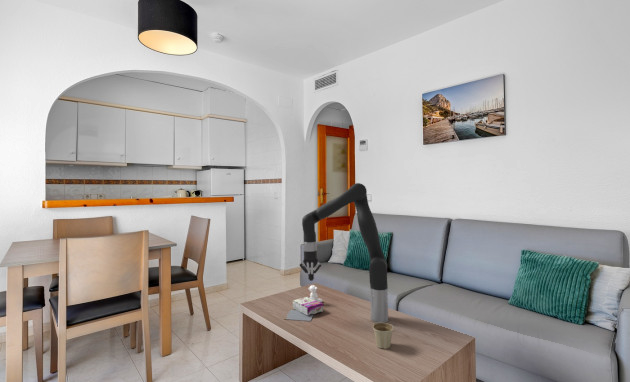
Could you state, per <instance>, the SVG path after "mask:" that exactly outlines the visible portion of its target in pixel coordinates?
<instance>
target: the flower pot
mask: <svg viewBox="0 0 630 382" xmlns="http://www.w3.org/2000/svg"><path fill="white" fill-rule="evenodd" d="M372 329H373V332H374V339H375V344H376V347H377V348H379V349H385V350H387V349H389V348H390V347H391V344H392V343H391V342H392V335H393V332H394V331H393V330H394V326H393V324H390V323H389V322H383V323H378V322H374V324H373V325H372Z"/></svg>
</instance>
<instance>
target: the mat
mask: <svg viewBox="0 0 630 382" xmlns="http://www.w3.org/2000/svg"><path fill="white" fill-rule="evenodd" d="M288 313H289V314H288ZM288 313H287V314H286V316H287V315H288V316H287V318H286V319H290V320H289V321H298V320H300V321H302V322H312V319H313V318H314V316H315V314H312V315H308V316H307V315H305V314H303V313H301V312H300V311H298V310H296V309H290V310H289V311H288ZM286 316H285V317H286ZM312 317H313V318H312ZM300 321H299V322H300Z"/></svg>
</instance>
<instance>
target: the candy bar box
mask: <svg viewBox="0 0 630 382" xmlns="http://www.w3.org/2000/svg"><path fill="white" fill-rule="evenodd" d="M292 309H293V310H298V311H300V312H301V313H303V314H305V315H307V316H308V315H312V314H314V315H316V314H318V313H323V312H324V303H323V302H321V303H320V302H318V301H316V300H314V299H311V298H310V296H305V297H300V298H297V299H293V300H292Z"/></svg>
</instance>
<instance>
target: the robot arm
mask: <svg viewBox="0 0 630 382" xmlns="http://www.w3.org/2000/svg"><path fill="white" fill-rule="evenodd" d="M367 191H368V190H367V187H366V186H365V184H364V183H363V184H362V183H360V182H359V183H358V182H356V183H353V185H351V186H350V187H349V188H348V189H347V190H346V191H345V192H343V193H341V194H340V195H339V196H337V197H335V198H333V199H331V200H329V201H327V202H326V203H323V204H322V205H321V206H318V207H317V208H316V209H314V210H312V211H311V212H309V213H307V214H305V215H304V216H303V217H302V219H301V220H302V222H301V225H302V231H303V232H302V233H303V247H302V248H303V261H302V262H301V263H299V267H300V268H301V269H302V271H303V272H304V273H305V274H307V275H308V280H309V281H310V282H313V281H314V279H315V274H316V273H317V272H318V271H319V269H321V267H322V266H323V264H322V263H320V262H319V260H318V245H317V233H316V230H315V229H316V226H315V225H316V224H317V223H318V222H319V223H320V221H322V220H324V219H326V218H328V217H329V216H331V215H334V213H336V212H338V211H339V210H341V209H342V208H344V207H346V206H347V205H349V204H351V203H353V204H354V206H355V207H354V208H355V210H356V216H357V223H358V227H359V232H360V235H361V238H362V240H363V242H364V244H365V247H366V248H367V251H368V255H369V260H370V264H369V266H368V267H369V268H368V269H369V289H370V290H369V292H370V296H369V297H370V320H371V322H374V323H389V298H388V297H389V293H388V291H389V290H388V289H389V287H388V262H387V259H386V257H385V255H384V252H383V250H382V246H381V240H380V235H379V230H378V227H377V224H376V220H375V218H374V214H373V212H372V211H371V208H370V205H369V200H368V196H367V195H368V192H367Z"/></svg>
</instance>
